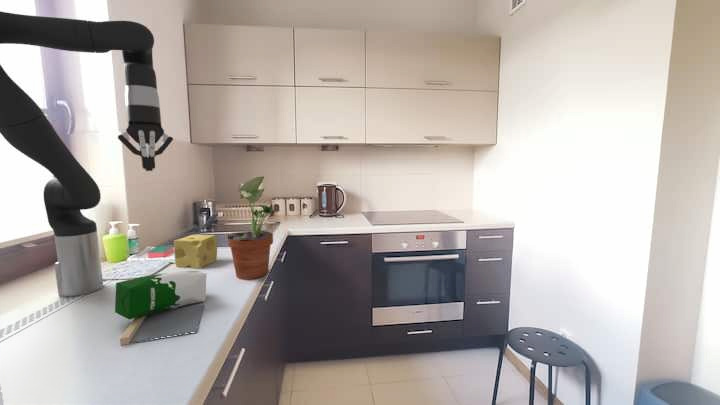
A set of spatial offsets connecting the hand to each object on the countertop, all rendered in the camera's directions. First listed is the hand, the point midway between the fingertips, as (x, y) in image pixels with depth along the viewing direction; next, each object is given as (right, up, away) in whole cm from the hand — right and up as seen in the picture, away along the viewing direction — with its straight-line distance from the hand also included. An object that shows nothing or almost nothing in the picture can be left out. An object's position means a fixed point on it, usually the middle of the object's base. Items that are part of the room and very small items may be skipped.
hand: (149, 170), depth 87 cm
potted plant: (+22, -33, +20) cm, 44 cm away
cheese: (-3, -32, +31) cm, 44 cm away
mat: (+13, -37, -13) cm, 41 cm away
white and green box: (+4, -31, -15) cm, 35 cm away
